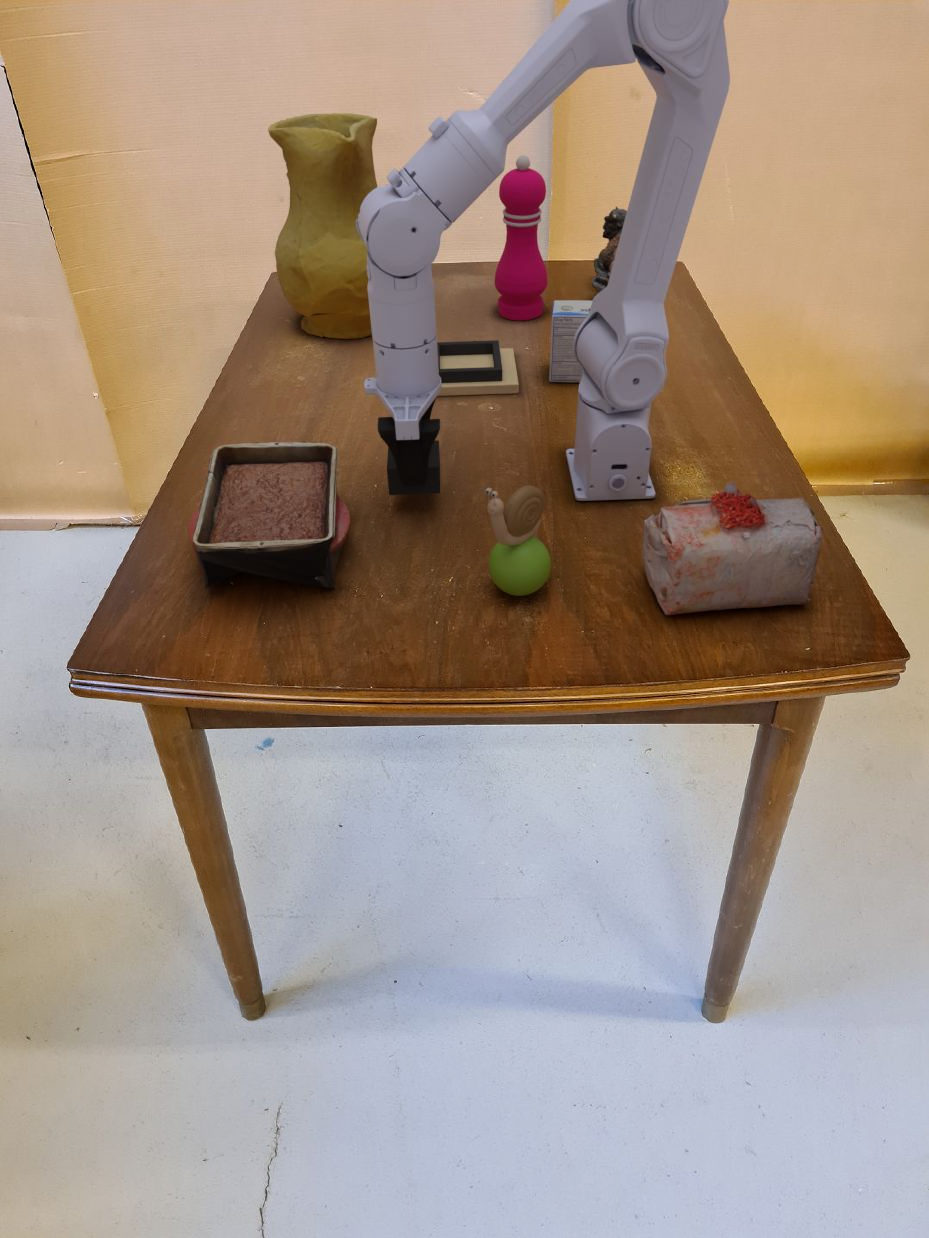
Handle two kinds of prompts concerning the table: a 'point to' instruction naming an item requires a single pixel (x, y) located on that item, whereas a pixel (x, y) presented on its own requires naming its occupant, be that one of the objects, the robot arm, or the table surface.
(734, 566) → the food item
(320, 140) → the pitcher
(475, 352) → the base pad
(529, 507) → the snail figurine
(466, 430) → the table surface
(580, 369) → the medicine box
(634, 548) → the table surface
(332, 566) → the baking dish
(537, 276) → the pepper mill
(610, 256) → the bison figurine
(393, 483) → the black block
